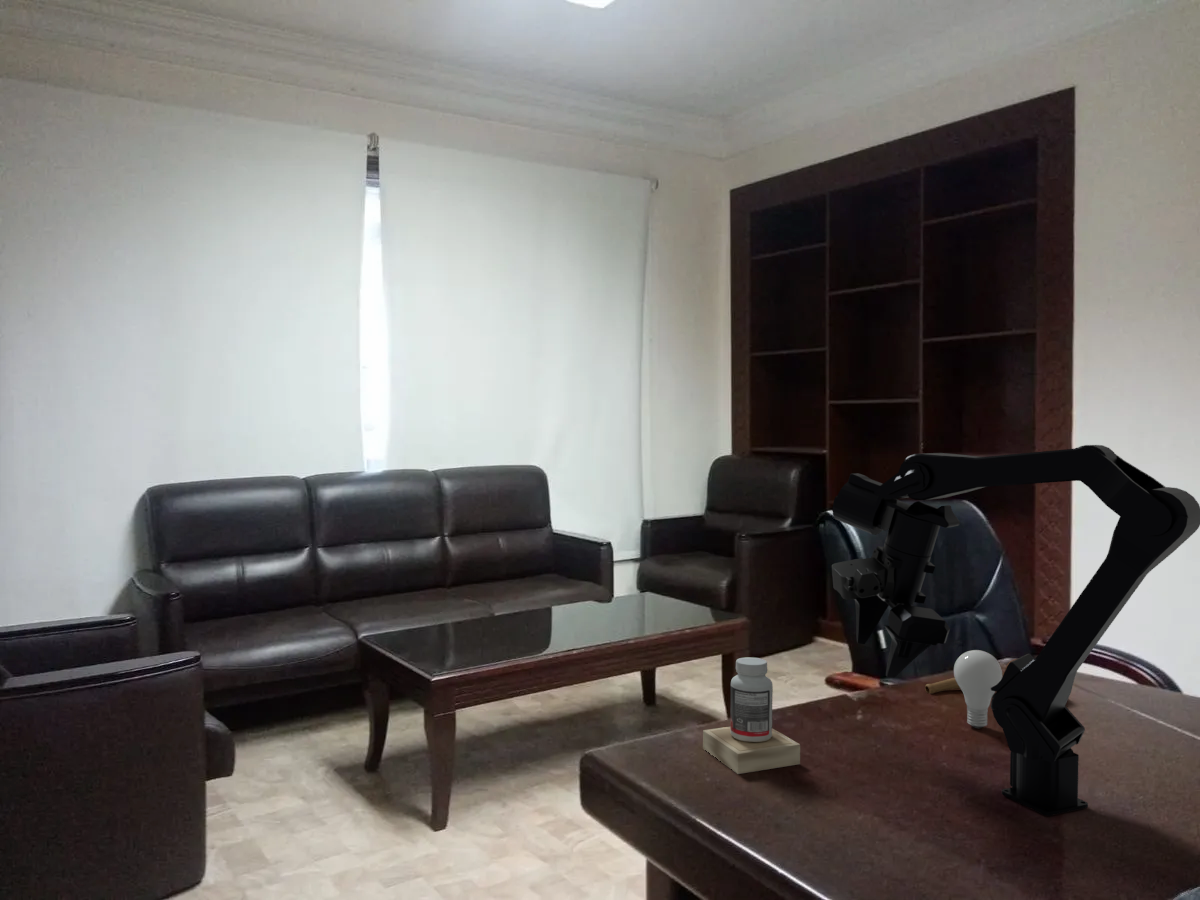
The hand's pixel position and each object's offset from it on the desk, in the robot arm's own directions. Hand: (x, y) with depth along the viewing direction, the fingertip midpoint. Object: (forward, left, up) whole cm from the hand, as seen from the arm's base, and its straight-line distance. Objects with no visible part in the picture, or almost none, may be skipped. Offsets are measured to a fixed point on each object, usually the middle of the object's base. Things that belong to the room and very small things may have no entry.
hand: (874, 659), depth 114 cm
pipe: (+14, -34, -13) cm, 39 cm away
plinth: (+5, +16, -12) cm, 21 cm away
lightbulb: (+3, -20, -12) cm, 24 cm away
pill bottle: (+5, +16, -10) cm, 19 cm away
